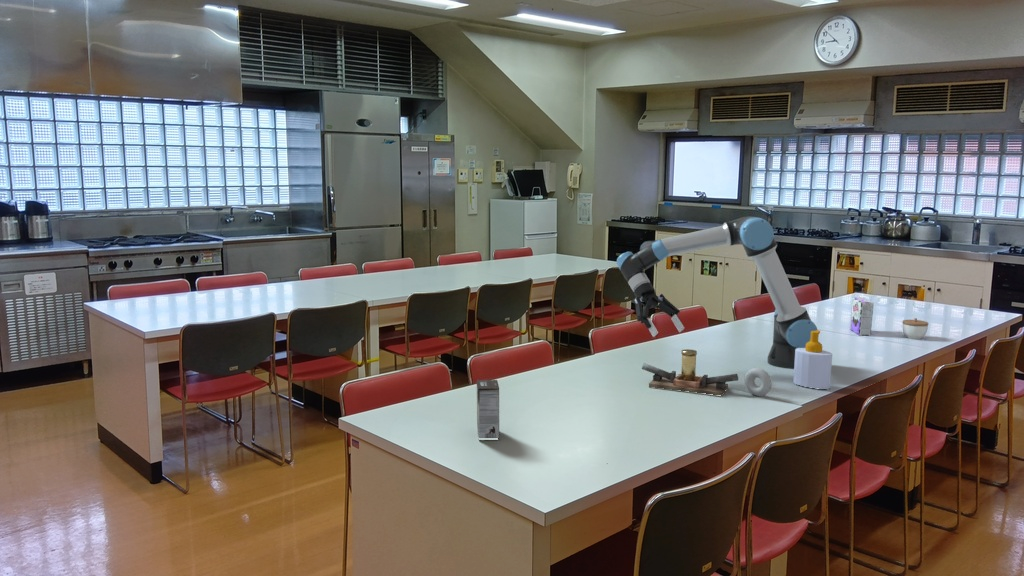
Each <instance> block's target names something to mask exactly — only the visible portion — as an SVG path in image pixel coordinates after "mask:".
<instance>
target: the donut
mask: <svg viewBox="0 0 1024 576" xmlns="http://www.w3.org/2000/svg"><path fill="white" fill-rule="evenodd" d="M756 378H758V379H760V381H761V385H759V386H758V385H757V384H756V382H755V379H756ZM772 384H773V382H772V378H771V375H770V374H769V372H767V370H765V369H763V368H761V367H753V368H750V369H749V370H748V371H747V372H746V374H745V376H744V385H745V388H746V389H747V391H748V392H749V393H751V394H752V395H753V394H754V395H753V396H756V395H757V397H762V396H766V395H767V394H768V393H769V392H770V390H771V388H772Z"/></svg>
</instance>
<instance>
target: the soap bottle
mask: <svg viewBox="0 0 1024 576" xmlns="http://www.w3.org/2000/svg"><path fill="white" fill-rule="evenodd" d="M820 333H821V330H818V329H817V330H816V331H811V339H810V342H807V344H806V348H796V350H795V364H794V368H793V384H794V383H795V384H794V385H796V384H798V385H801V386H806V387H812V388H819V389H827V390H830V389H831V380H832V365H833V353H832V352H830V351H827V350H825V349H824V350H823V345H822V343H821V342H820V341H819V335H820ZM798 385H797V386H798ZM801 386H800V387H801ZM829 388H830V389H829Z"/></svg>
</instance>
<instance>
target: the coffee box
mask: <svg viewBox="0 0 1024 576" xmlns="http://www.w3.org/2000/svg"><path fill="white" fill-rule="evenodd" d="M476 424H477V425H476V426H477V437H479V438H499V439H500V386H499V383H498V380H497V379H477V380H476Z"/></svg>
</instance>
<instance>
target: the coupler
mask: <svg viewBox="0 0 1024 576" xmlns="http://www.w3.org/2000/svg"><path fill="white" fill-rule="evenodd" d="M697 354H698V351H697V350H695V349H689V348H686V349H681V370H680V371H681V373H680V374H681V380H684V381H692V382H696V380H695V376H696V374H697V373H696V371H697V370H696V369H697V368H696V367H697Z"/></svg>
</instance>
